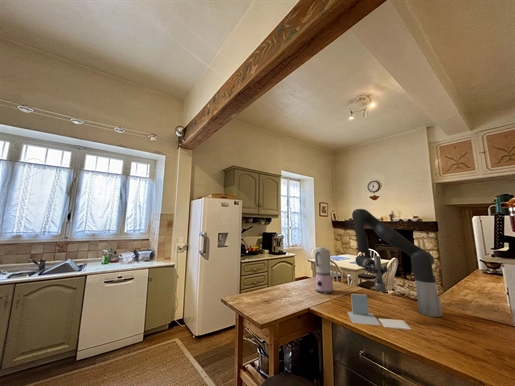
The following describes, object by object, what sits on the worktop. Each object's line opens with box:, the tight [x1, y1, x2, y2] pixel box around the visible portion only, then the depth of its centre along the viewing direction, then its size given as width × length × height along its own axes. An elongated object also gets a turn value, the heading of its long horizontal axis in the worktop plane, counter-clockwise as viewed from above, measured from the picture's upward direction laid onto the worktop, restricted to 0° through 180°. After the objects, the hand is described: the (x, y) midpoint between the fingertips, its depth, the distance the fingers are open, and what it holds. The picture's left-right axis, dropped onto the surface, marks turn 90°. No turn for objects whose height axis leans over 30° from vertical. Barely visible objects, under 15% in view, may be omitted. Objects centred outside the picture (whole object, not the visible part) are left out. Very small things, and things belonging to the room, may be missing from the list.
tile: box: [350, 293, 370, 315], centre depth 114 cm, size 8×2×10 cm, turn 76°
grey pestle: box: [373, 255, 387, 293], centre depth 114 cm, size 5×5×18 cm
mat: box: [347, 311, 381, 326], centre depth 109 cm, size 13×14×1 cm
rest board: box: [378, 318, 412, 331], centre depth 101 cm, size 11×9×1 cm
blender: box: [314, 246, 334, 295], centre depth 156 cm, size 16×12×32 cm
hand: (380, 271), depth 112 cm, fingers closed on grey pestle, 3 cm apart
